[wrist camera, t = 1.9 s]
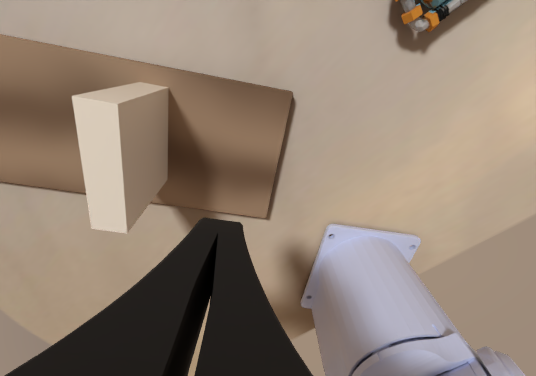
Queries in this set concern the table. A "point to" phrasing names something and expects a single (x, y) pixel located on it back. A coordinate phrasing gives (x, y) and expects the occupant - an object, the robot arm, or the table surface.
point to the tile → (122, 151)
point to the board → (179, 126)
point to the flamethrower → (430, 18)
